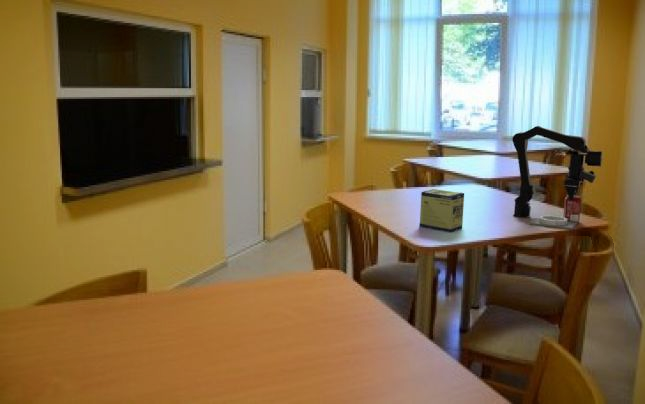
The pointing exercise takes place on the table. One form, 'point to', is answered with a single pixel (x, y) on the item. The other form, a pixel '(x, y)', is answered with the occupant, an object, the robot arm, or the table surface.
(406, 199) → the table surface
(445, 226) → the protein box
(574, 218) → the soda can
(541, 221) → the holder
